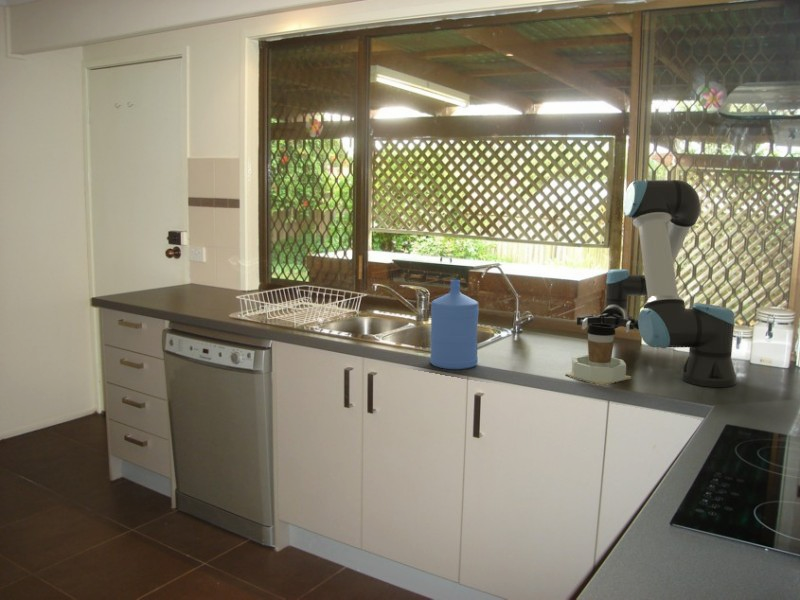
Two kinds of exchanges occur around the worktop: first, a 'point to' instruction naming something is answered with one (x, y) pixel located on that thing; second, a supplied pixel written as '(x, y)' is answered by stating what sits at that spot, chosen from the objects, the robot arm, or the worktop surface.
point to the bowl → (598, 371)
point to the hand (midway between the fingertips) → (604, 326)
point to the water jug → (454, 330)
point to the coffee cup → (600, 344)
